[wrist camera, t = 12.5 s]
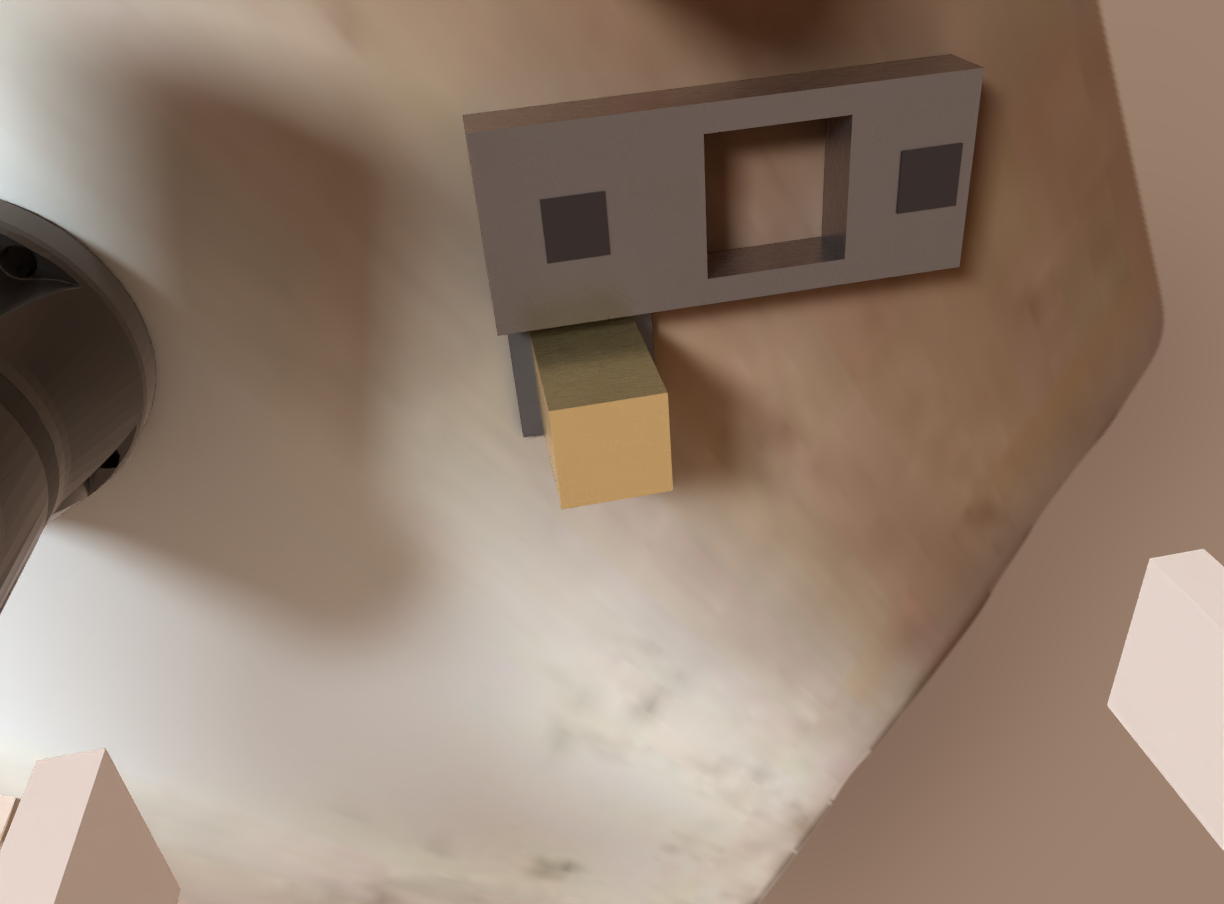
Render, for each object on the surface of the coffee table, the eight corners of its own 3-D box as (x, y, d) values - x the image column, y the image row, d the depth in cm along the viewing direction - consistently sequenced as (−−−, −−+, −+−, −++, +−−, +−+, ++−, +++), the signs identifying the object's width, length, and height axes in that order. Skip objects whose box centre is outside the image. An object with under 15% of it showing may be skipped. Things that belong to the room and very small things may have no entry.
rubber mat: (522, 431, 50) (523, 437, 50) (503, 307, 46) (504, 312, 46) (655, 410, 51) (657, 415, 51) (647, 286, 47) (650, 290, 47)
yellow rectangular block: (541, 418, 49) (561, 509, 43) (528, 329, 47) (548, 411, 40) (637, 403, 50) (673, 490, 43) (631, 313, 47) (667, 392, 41)
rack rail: (493, 308, 46) (498, 336, 44) (462, 115, 42) (466, 133, 39) (931, 244, 49) (960, 267, 46) (951, 54, 44) (985, 67, 41)
